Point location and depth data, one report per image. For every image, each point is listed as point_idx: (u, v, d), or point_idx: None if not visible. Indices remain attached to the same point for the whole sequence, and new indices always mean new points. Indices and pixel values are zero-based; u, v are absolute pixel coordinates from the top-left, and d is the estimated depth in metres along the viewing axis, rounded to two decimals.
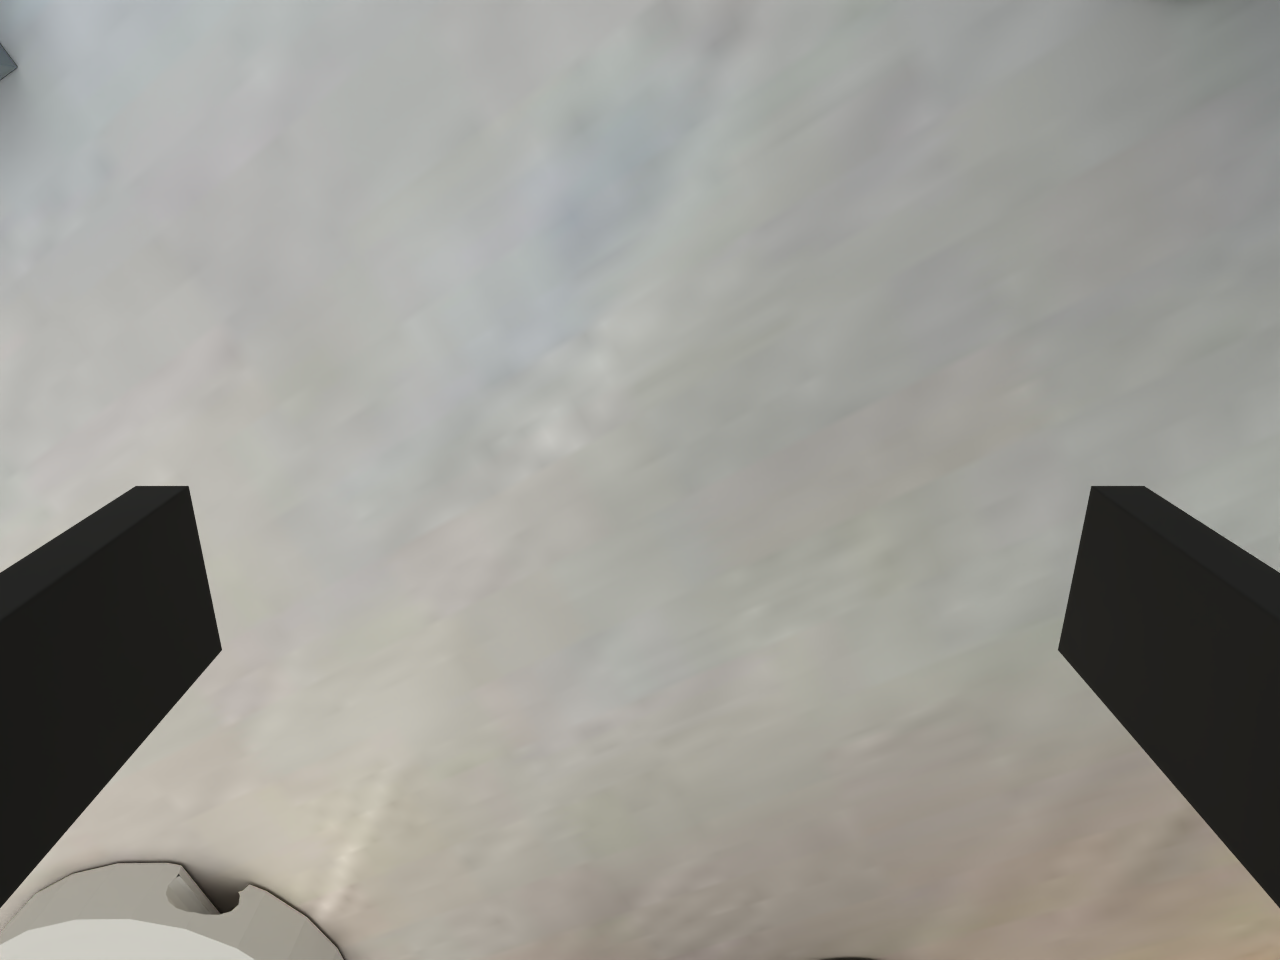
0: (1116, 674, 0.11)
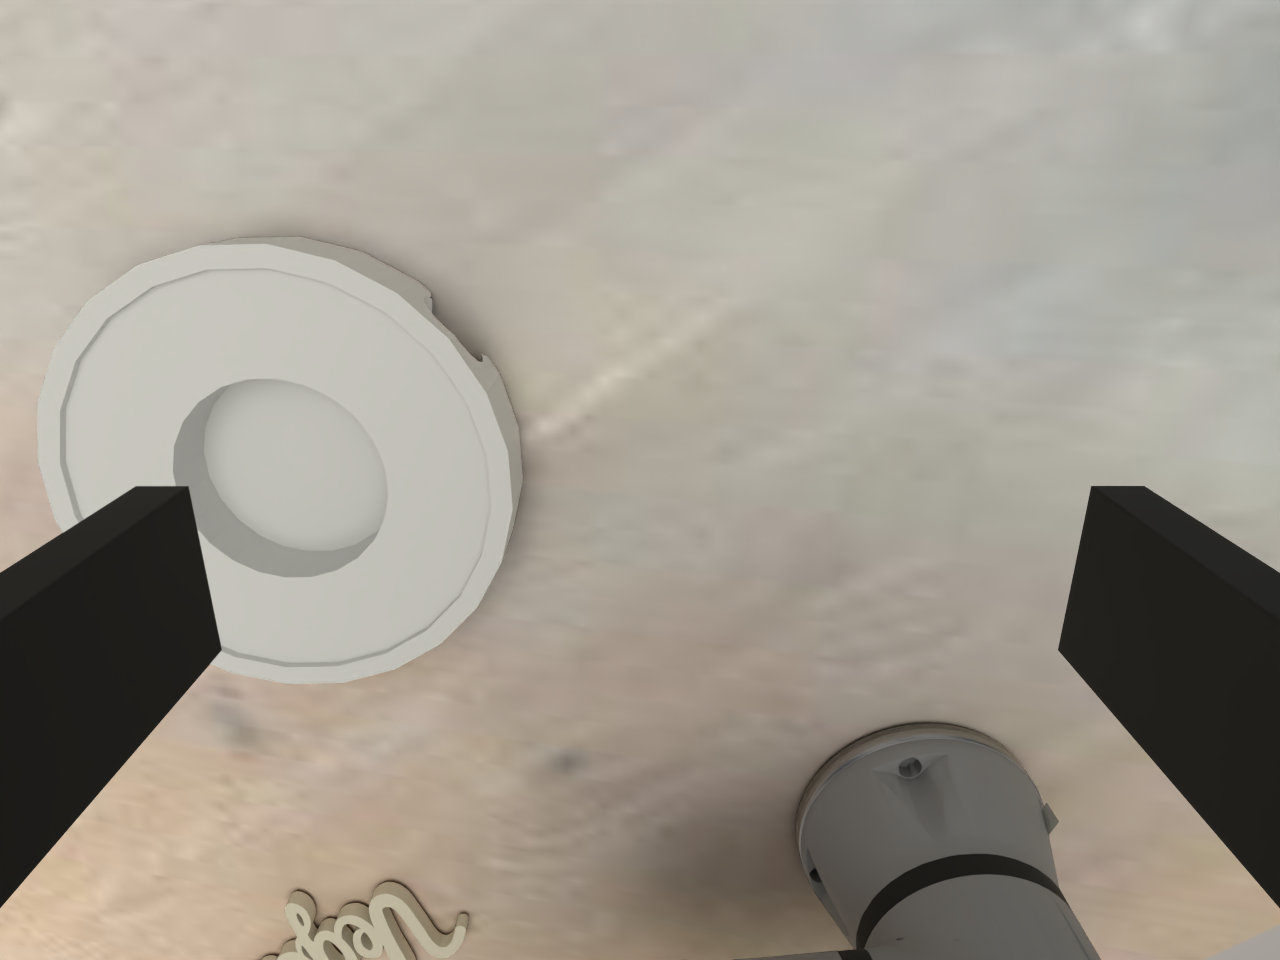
0: (1116, 674, 0.11)
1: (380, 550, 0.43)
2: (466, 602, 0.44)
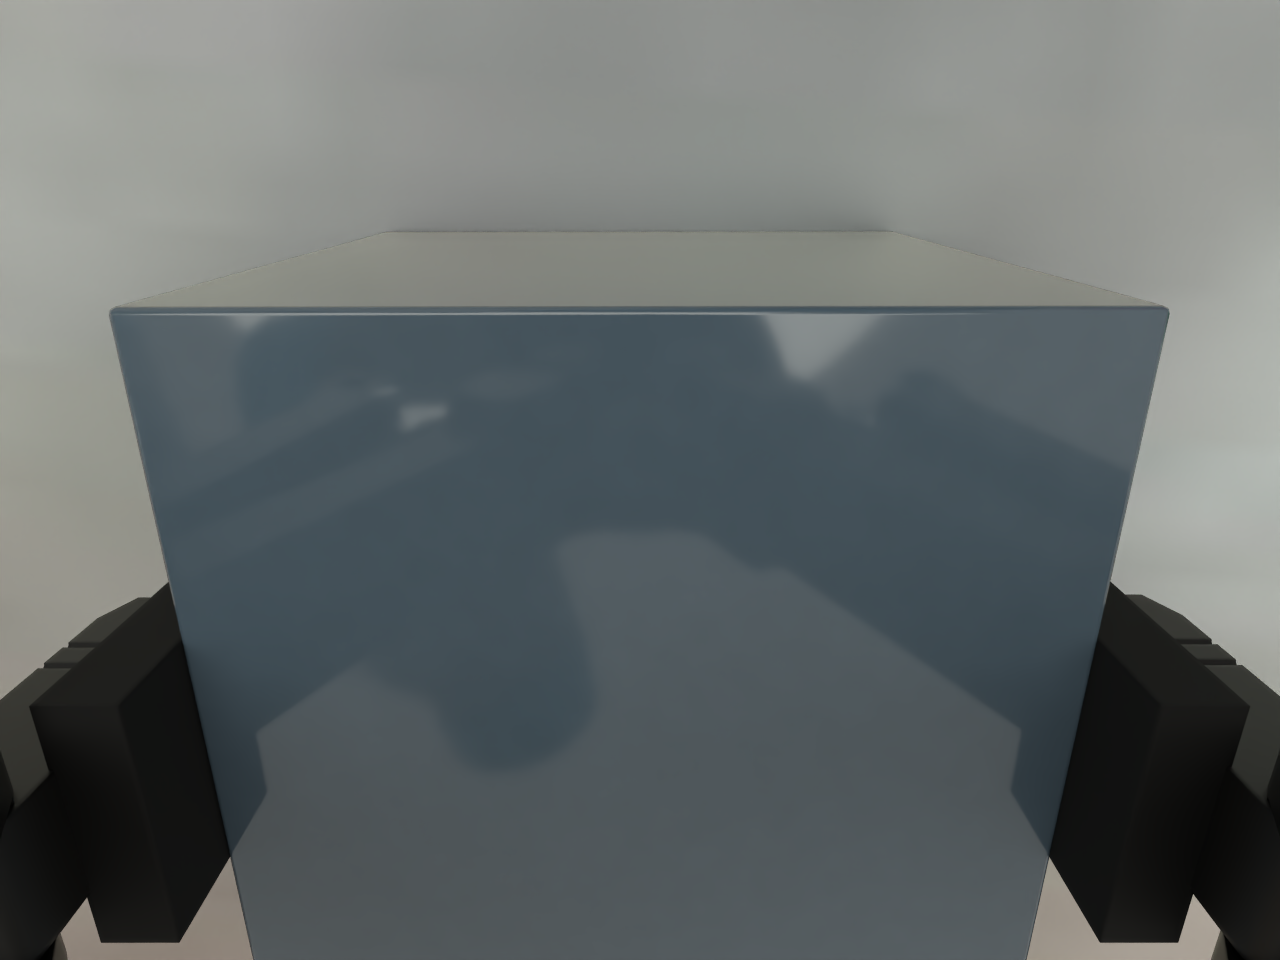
0: None
1: None
2: None
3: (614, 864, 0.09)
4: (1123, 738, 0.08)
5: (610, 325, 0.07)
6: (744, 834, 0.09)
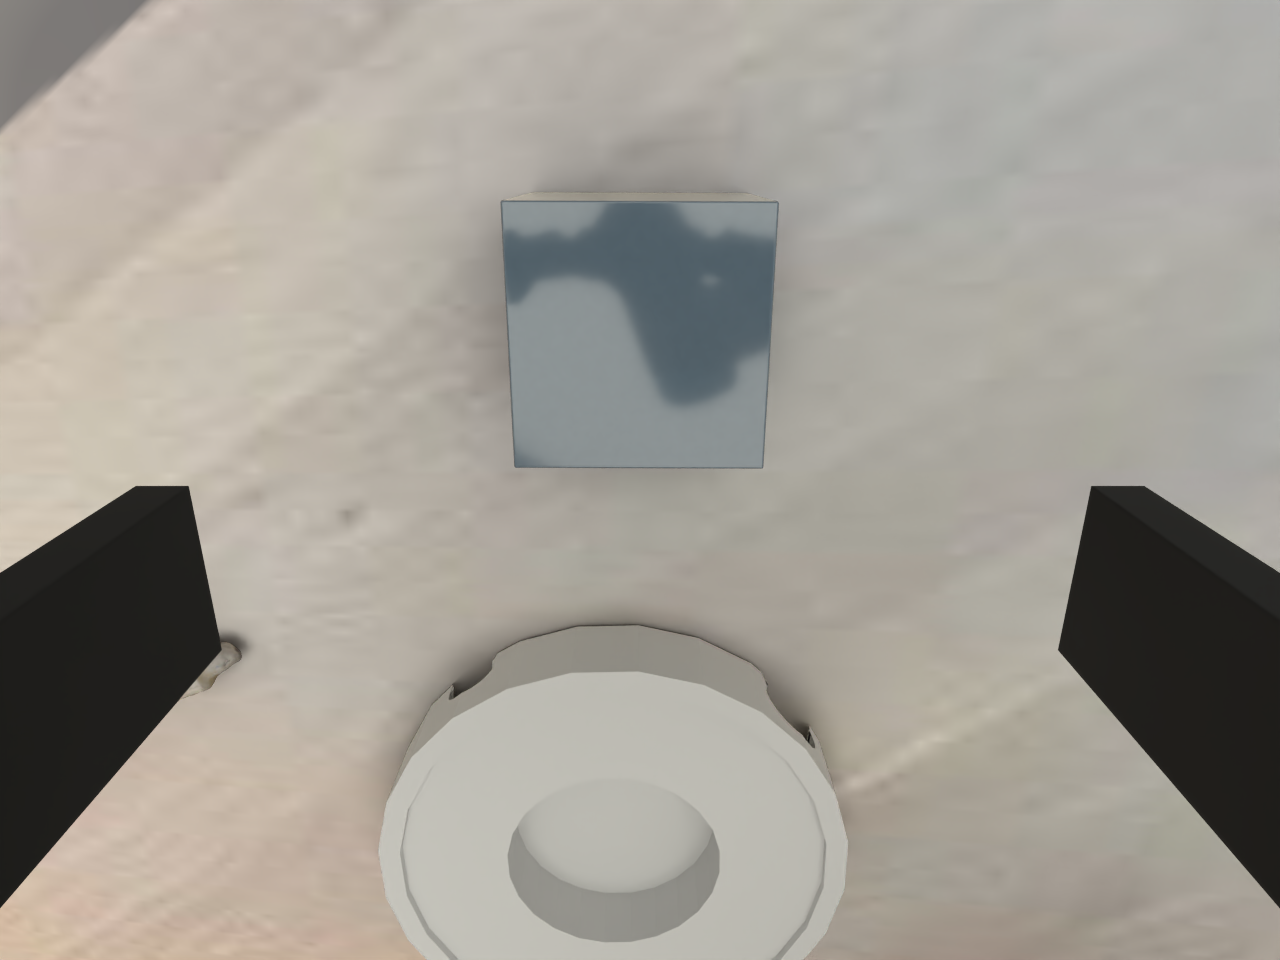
0: (1116, 674, 0.11)
1: (702, 920, 0.43)
2: None
3: (630, 384, 0.29)
4: None
5: (632, 205, 0.27)
6: (671, 372, 0.29)
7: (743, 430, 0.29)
